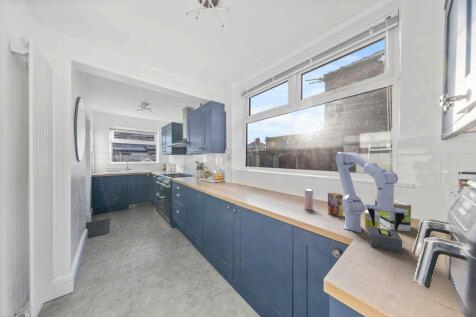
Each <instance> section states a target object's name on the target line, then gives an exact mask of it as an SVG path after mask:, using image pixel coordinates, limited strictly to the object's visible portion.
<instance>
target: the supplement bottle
mask: <svg viewBox="0 0 476 317" xmlns="http://www.w3.org/2000/svg"><path fill="white" fill-rule="evenodd" d="M374 211H375V226H373V224H372V219H371V216H370V214H369V212H368V209H365V210H364V228H365V230H367V231H370V226H371V227H376V228H381V223H380V213H379V212H377V210H374Z"/></svg>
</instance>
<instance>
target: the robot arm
mask: <svg viewBox="0 0 476 317" xmlns="http://www.w3.org/2000/svg"><path fill="white" fill-rule="evenodd" d="M335 162H336V167H337V169H338V170H337V171H338V175H339V178H340V182H341V186H342V190H343V195H344V196H343V199H342V209H343V213H344V223H343V224H344V225H343V229H344V230H347V231H353V232H357V233H362V231H363V230H362V226H361V223H362V222H361V219H362V216H361V215H362V214H363V213H364V212H365V210H367V209H368V212H369V214H370V216H371V219H372V224H373V226H375V211H374V210H377V211H384V212H390V213H395V223H394V229H395V230H394V231H398V230H397V229H398V226H399V224H400V223H401V221H402V220H403V219H404V215H408V211H407V210H404V209H398V208H393V205H394V200H395V199H394V198H395V185H396V184H397V182H398V181H399V176H398V175H397V173H395V172H394V171H390V170H389V171H387V170H386V168H383V167H381V166H379V164H378V163H376V162H368V161H367V160H365V159H364V158H362V157H361V156H359V153H357V152H355V151H350V152H348V151H346V152H345V151H338V152H337V154H336V155H335ZM354 164H356V165H357V166H359V167H360V168H363V171H364V173H366V174H367V175H368V176H371V177H372V178H373V180H374V182H375V185H376V198H377V205H375V204H366V203H365V204H364V202H363V201H362V199H361V197H359V196H358V195H356V194H357V193H356V191H355V186H354V184H353V180H352V176H351V173H350V168H351V167H352V166H353V165H354Z"/></svg>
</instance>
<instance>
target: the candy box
mask: <svg viewBox="0 0 476 317" xmlns="http://www.w3.org/2000/svg"><path fill="white" fill-rule="evenodd" d="M343 198H344V193H341V192H340V193H339V192H331V191H329V192H327V214H328V215H331V216H336V217H339V218H340V217H341V218H342V217H344V210H343V209H342V199H343Z"/></svg>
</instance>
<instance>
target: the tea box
mask: <svg viewBox="0 0 476 317" xmlns="http://www.w3.org/2000/svg"><path fill="white" fill-rule="evenodd" d="M374 199H375V201H374V205H377V197H375V198H374ZM393 208H398V209H404V210H407V211H408V215H404V219H403V220H402V221H401V223H400V224H399V226H398V229H397V230H395V229H394V223H395V213H390V212H384V211H377V212H379V213H380V225H383V226H384V227H385V228H386V229H388V230H392V231H399V232H401V231H402V232H411V227H412V226H411V223H412V222H411V221H412V220H411V219H412V205H411V204H408V203H405V202H402V201H400V200H396V199H394V205H393Z"/></svg>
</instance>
